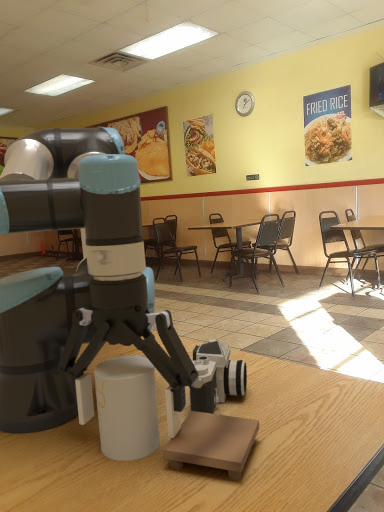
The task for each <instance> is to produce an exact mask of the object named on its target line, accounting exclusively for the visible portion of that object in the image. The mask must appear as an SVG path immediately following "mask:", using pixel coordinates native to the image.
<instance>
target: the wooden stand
mask: <svg viewBox="0 0 384 512" xmlns="http://www.w3.org/2000/svg"><path fill="white" fill-rule="evenodd" d="M259 430H260V420H259V419H256V418H255V419H254V418H247V417H239V416H238V417H237V416H232V415H231V416H230V415H225V414H218V413H217V414H216V413H214V414H211V413H203V412H196V411H191V410H190V412H189V413H188V415H187V416H186V418H185V419H184V420H183V422H181V428H180V430H179V431H178V432H177V434H176V435H175V437H174V438H170V439H169V441H168V442H167V444H166V445H165V446H164V447H163V449H162V452H163V453H162V454H163V459H166V460H170V462H169V463H170V468H171V469H173V470H180V469H182V468H183V466H184V463H187V464H194V465H198V466H204V467H208V468H209V467H211V468H215V469H222V470H227V478H228V479H230V480H231V481H239V480H241V479H242V472H243V470H244V467H245V466H246V465H245V464H246V462H247V459H248V458H249V454H250V452H251V450H252V447H254V446H256V437H257V435H258V432H259Z"/></svg>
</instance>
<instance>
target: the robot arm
mask: <svg viewBox="0 0 384 512" xmlns="http://www.w3.org/2000/svg"><path fill="white" fill-rule="evenodd" d="M124 146H125V145H124V141H123V138H122V136H121V134H120V132H119V131H118V130H117V129H116V128H114V127H104V126H100V125H99V126H97V127H61V128H59V127H56V128H53V127H50V128H41V129H38V130H37V129H36V130H34V131H31V132H29V133H26V134H24V135H22V136H19V138H17V139H15V140H14V141H13V142H11V144H9V146H8V148H7V149H6V151H5V154H4V163H3V164H4V167H3V169H2V172H1V174H0V235H2V236H7V235H15V234H26V233H38V232H48V231H63V230H64V231H65V230H79V229H80V236H81V247H82V255H83V256H82V257H83V259H81V261H80V262H79V263H78V265H77V268H76V271H75V272H76V273H75V274H74V273H73V274H67V275H64V271H63V270H62V268H61V267H59V266H50V267H49V266H48V267H46V266H45V267H40V268H35V269H29V270H26V271H22V272H18V273H13V274H10V275H8V276H5V277H2V278H0V432H2V433H7V434H12V435H13V434H16V435H18V434H21V435H22V434H30V433H32V434H33V433H37V432H42V431H46V430H49V429H52V428H54V427H55V428H56V427H58V426H60V425H62V424H65V423H67V422H68V421H71V420H72V419H74V418H75V417H76V416H78V423H79V425H85V424H86V423H88V422H89V421H90V420H91V419H92V418H93V417H94V416H95V405H94V397H93V396H94V395H93V385H92V373H91V372H86V371H88V368H89V366H90V365H91V364H92V362H93V361H94V359H95V358H96V357H97V355H98V354H99V352H100V351H101V350H102V349H103V347H104V346H105V345H106V343H108V345H110V346H111V345H113V346H115V345H121V346H124V347H125V346H126V347H130V346H132V345H133V346H134V347H135V348H136V350H138V351H141V352H142V354H143V355H144V357H147V358H148V360H149V361H150V362H151V363H152V364H153V366H154V367H155V370H156V371H157V372H158V373H159V374H160V375H161V377H162V378H163V379H164V380H165V381H166V383H167V384H168V385H169V386H168V387H166V388H165V391H164V392H165V403H166V405H165V407H166V421H167V438H170V439H171V438H174V437H175V435H176V434H177V432H178V431H179V430H180V428H181V424H182V422H181V421H182V419H181V412H182V411H183V410H184V409H185V407H186V404H187V398H186V387H188V388H189V386H191V385H192V384H193V383H194V382H195V380H196V379H197V378H198V376H199V374H198V372H197V370H196V368H195V366H194V364H193V362H192V361H193V359H191V357H190V355H189V352H188V351H187V350H186V348H185V346H184V343H183V342H182V340H181V338H180V335H178V332H177V331H176V328H175V326H174V323H173V316H172V312H171V310H168V309H164V310H163V311H161V312H155V293H156V292H155V277H154V270H153V268H151V267H150V266H146V255H145V246H144V245H145V244H144V235H143V234H144V232H143V231H144V230H143V216H142V200H141V197H142V196H141V185H142V184H141V178H140V175H139V172H140V171H139V165H138V160H137V159H136V158H135V157H134V156H132V155H129V154H126V151H125V148H124ZM152 329H154V330H156V331H157V334H158V337H159V339H160V341H161V343H162V345H163V346H164V348H163V347H162V346H161V345H160V344H159V342H158V341H157V340H156V336H155V334H154V333H153V332H152V331H151V330H152ZM142 337H143V338H142ZM85 344H88V345H87V346H86V347H85V348H84V350H83V352H82V353H81V355H80V356H79V354H80V350H81V349H82V345H85ZM165 350H166V351H165ZM78 356H79V357H78ZM84 372H85V373H84Z"/></svg>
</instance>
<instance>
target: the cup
mask: <svg viewBox="0 0 384 512" xmlns="http://www.w3.org/2000/svg"><path fill="white" fill-rule="evenodd" d="M93 373H94V374H93V375H94V384H95V395H96V407H97V409H96V410H97V418H98V428H99V438H100V440H99V441H100V450H101V453H102V454H103V455H104V457H106V458H107V459H110V460H113V461H118V462H131V461H136V460H140V459H143V458H146V457H148V456H150V455H151V454H153V453H154V452H156V451H157V449H158V448H159V446H160V443H161V440H160V439H161V438H160V426H159V413H158V412H159V411H158V397H157V386H156V385H157V382H156V368H155V367H154V366H153V364H152V363H151V362H150V361H149V360H148V358H147V357H146V356H141V355H123V356H117V357H113V358H109V359H106V360H104V361H101V362H100V363H98V364H97V365H96V366H95V367H94V370H93Z"/></svg>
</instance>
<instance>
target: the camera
mask: <svg viewBox="0 0 384 512" xmlns="http://www.w3.org/2000/svg"><path fill="white" fill-rule="evenodd" d="M231 353H232V352H231V347H230V345H229V344H227V343H225V342H223V341H221V340H217V339H214V338H212V339H208V340H207V342H206V343H203V344H200V345H198V344H195V346H194V348H193V350H192V362H193V364H194V366H195V368H196V370H197V372H198V374H199V376H198V378H197V379H196V380H195V382H194V383H193V384H192V385H191V386H189V387H188V389H189V399H190V400H189V401H190V412H191V411H196V412H203V413H211V414H216V413H215V412H216V409H217V406H218V404H219V403H225V400H226V397H227V396H235V397H236V396H239V397H243V396H246V395H247V387H248V386H247V385H248V383H247V382H248V379H247V378H248V371H247V362H246V361H245V360H243V359H236V360H233V359H229V358H230V356H231Z"/></svg>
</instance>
